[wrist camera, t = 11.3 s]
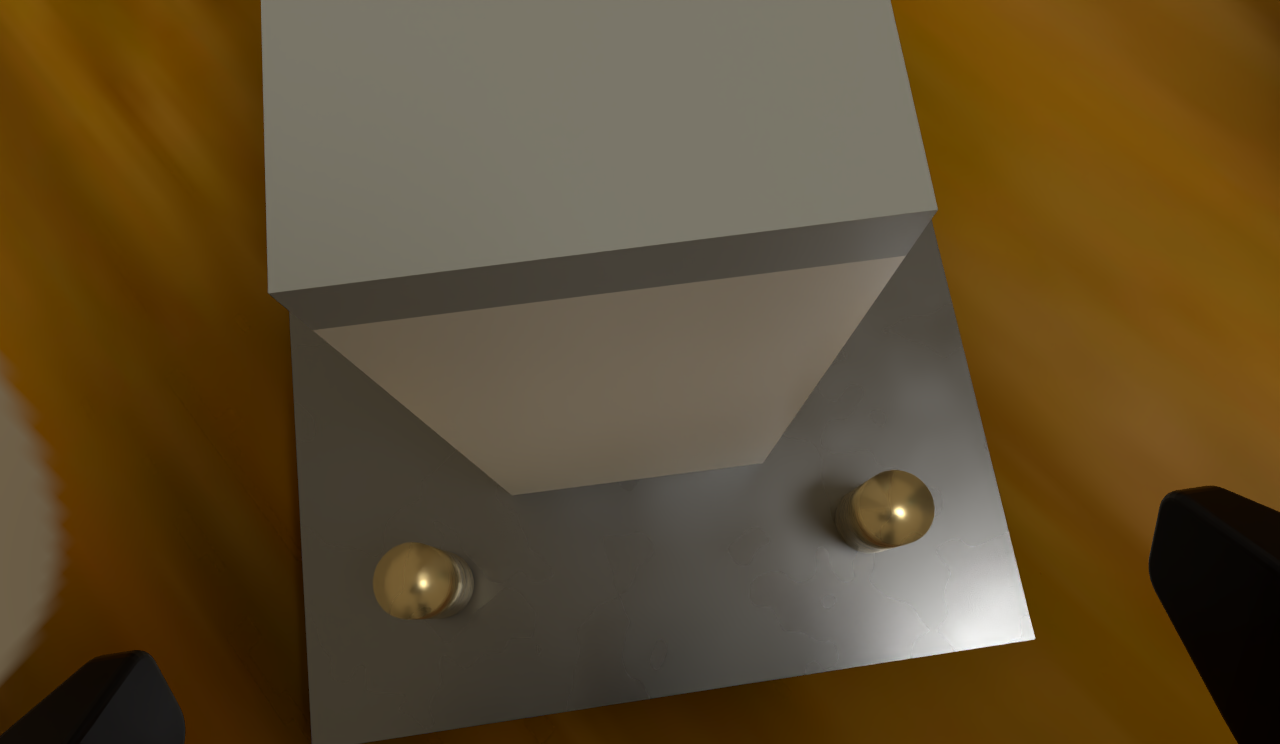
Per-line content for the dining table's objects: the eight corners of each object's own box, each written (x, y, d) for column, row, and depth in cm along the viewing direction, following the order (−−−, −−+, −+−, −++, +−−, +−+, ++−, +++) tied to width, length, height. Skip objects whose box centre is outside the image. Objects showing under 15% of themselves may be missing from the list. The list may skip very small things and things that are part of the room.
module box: (763, 462, 20) (937, 209, 8) (511, 495, 20) (267, 293, 8) (725, 230, 22) (820, -308, 9) (490, 260, 21) (255, -243, 9)
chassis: (1017, 637, 20) (1089, 642, 17) (329, 744, 20) (261, 770, 16) (871, 40, 24) (907, -55, 21) (293, 122, 24) (232, 39, 20)
